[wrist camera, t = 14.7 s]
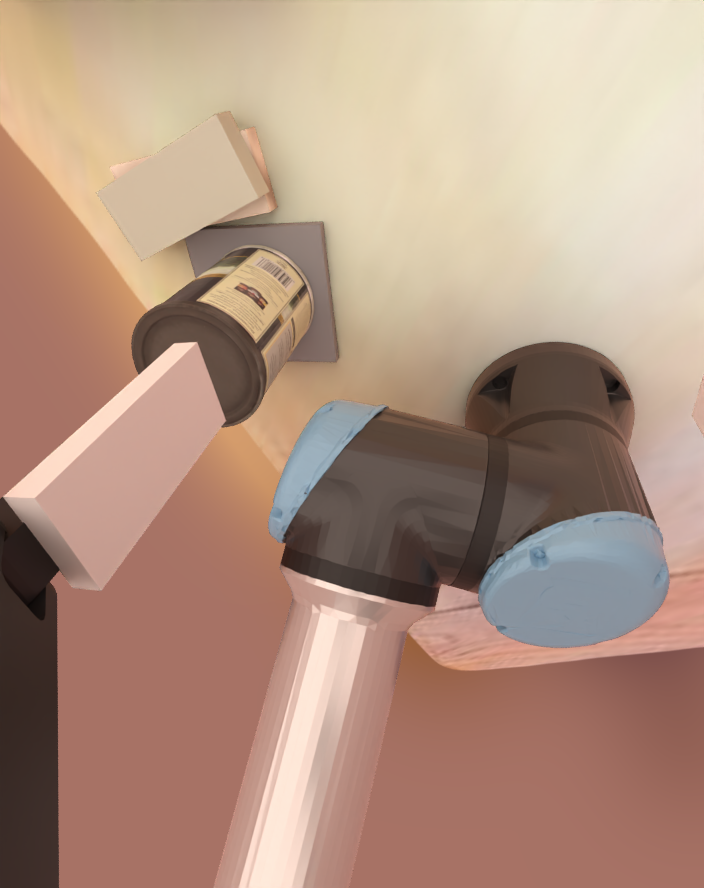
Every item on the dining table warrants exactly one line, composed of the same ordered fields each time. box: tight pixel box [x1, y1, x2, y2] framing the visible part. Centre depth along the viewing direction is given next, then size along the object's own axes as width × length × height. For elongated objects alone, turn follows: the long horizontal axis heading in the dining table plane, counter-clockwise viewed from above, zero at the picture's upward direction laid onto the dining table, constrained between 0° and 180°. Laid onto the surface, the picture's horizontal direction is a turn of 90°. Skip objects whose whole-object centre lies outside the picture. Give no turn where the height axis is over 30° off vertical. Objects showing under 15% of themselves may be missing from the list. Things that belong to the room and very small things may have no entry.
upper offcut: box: [96, 111, 269, 261], centre depth 40 cm, size 6×13×2 cm, turn 115°
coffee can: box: [132, 245, 314, 427], centre depth 42 cm, size 10×10×14 cm
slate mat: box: [185, 222, 339, 362], centre depth 47 cm, size 13×13×1 cm
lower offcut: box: [110, 127, 277, 225], centre depth 42 cm, size 6×13×2 cm, turn 103°
